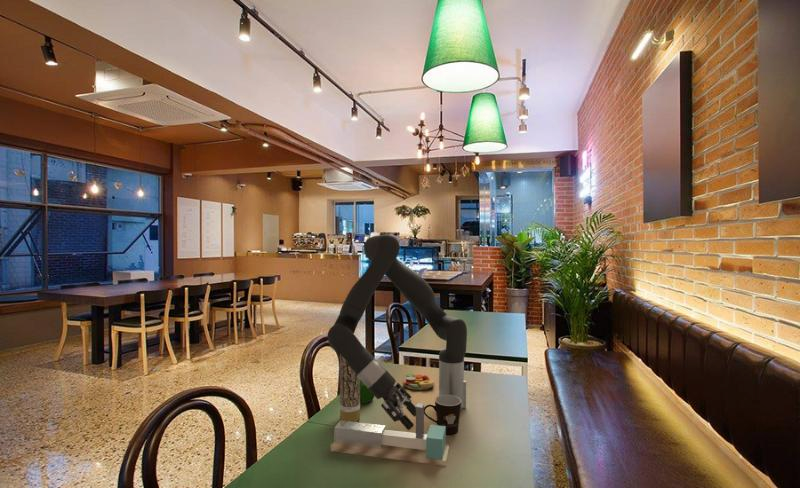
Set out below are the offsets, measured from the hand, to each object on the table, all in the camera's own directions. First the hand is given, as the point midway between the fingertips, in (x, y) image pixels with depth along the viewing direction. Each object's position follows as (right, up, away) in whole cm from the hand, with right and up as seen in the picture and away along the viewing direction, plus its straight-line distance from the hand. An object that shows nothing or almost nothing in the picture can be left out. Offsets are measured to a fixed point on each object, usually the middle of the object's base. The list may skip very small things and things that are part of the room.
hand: (414, 420), depth 114 cm
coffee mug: (+10, -10, +14) cm, 20 cm away
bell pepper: (-18, -9, +37) cm, 43 cm away
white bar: (-3, -7, +1) cm, 8 cm away
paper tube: (-21, -10, +22) cm, 32 cm away
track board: (-7, -10, +2) cm, 12 cm away
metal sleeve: (-16, -8, +4) cm, 19 cm away
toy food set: (+4, -9, +53) cm, 54 cm away
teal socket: (+6, -8, -1) cm, 10 cm away
